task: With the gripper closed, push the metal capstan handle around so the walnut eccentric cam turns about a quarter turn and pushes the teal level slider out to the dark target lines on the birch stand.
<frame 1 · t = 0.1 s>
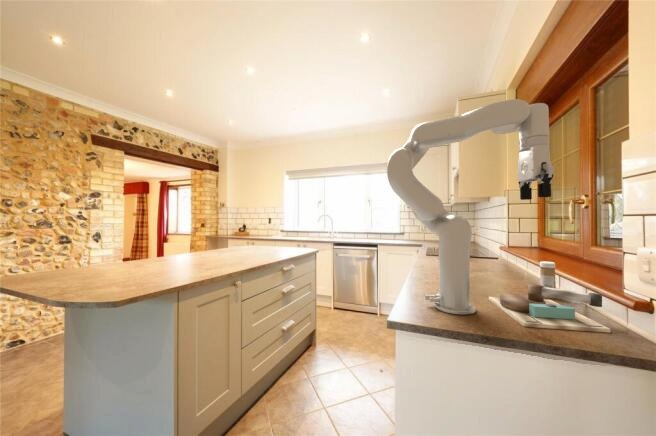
hand: (534, 198, 82), 37 cm above the counter, tool pointing down, fingers open, 9 cm apart
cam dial: (542, 297, 81), point 5 cm above the counter, hinge at 0.0°
sprinkles bottle: (548, 297, 98), on the counter
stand: (536, 311, 83), on the counter
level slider: (551, 310, 76), point 3 cm above the counter, slide at 0.0 cm
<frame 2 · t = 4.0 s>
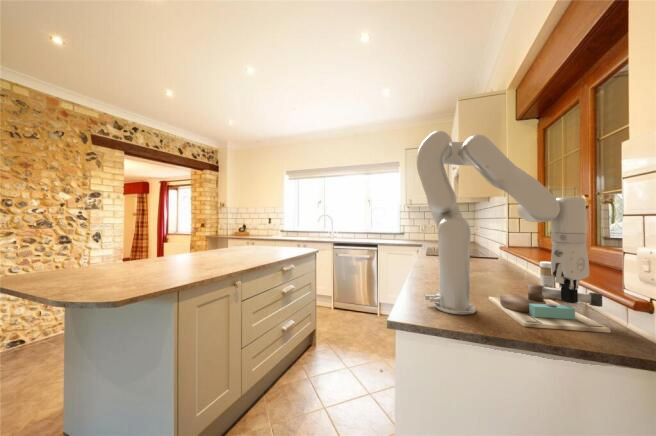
hand: (569, 301, 75), 6 cm above the counter, tool pointing down, fingers closed
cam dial: (542, 297, 81), point 5 cm above the counter, hinge at 2.6°, touching gripper
everything else where it was.
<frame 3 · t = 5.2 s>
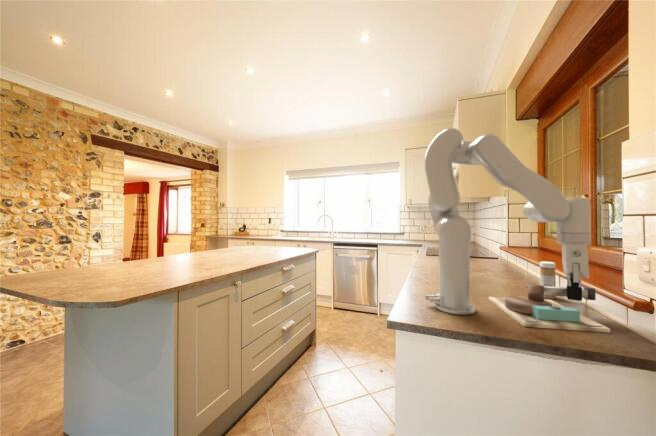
hand: (574, 299, 78), 6 cm above the counter, tool pointing down, fingers closed
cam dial: (544, 297, 82), point 5 cm above the counter, hinge at 32.2°, touching gripper
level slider: (555, 313, 74), point 3 cm above the counter, slide at 1.8 cm
everything else where it was.
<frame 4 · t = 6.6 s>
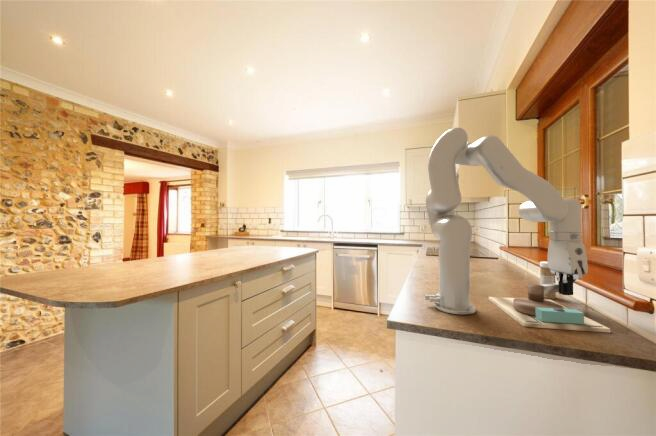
hand: (565, 294, 83), 6 cm above the counter, tool pointing down, fingers closed
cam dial: (543, 296, 83), point 5 cm above the counter, hinge at 67.4°, touching gripper
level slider: (558, 315, 72), point 3 cm above the counter, slide at 3.4 cm
everything else where it was.
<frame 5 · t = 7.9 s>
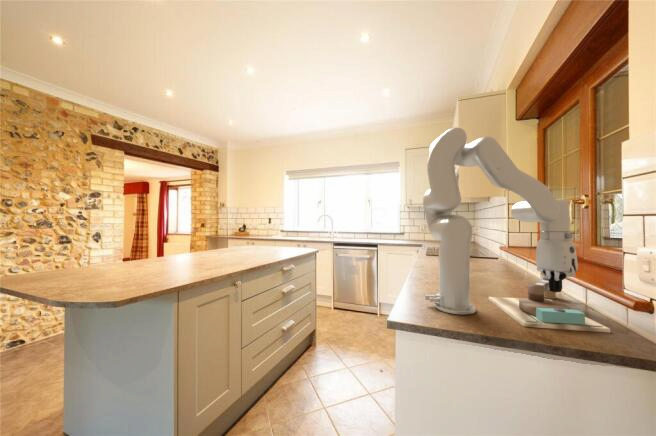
hand: (555, 291, 86), 6 cm above the counter, tool pointing down, fingers closed
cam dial: (541, 295, 84), point 5 cm above the counter, hinge at 89.2°, touching gripper
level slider: (559, 315, 72), point 3 cm above the counter, slide at 3.7 cm
everything else where it was.
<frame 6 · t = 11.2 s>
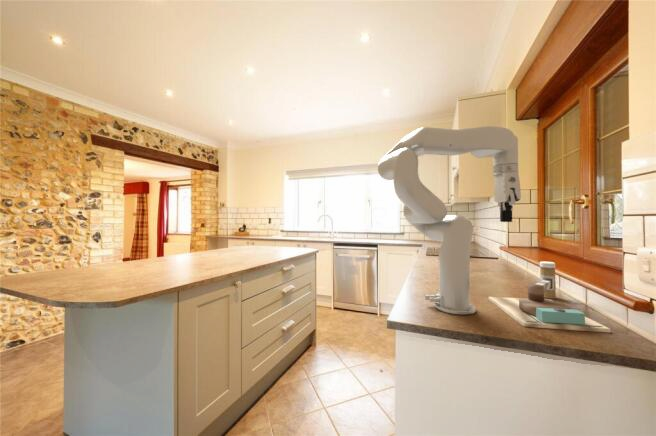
hand: (506, 221, 92), 29 cm above the counter, tool pointing down, fingers closed
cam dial: (541, 295, 84), point 5 cm above the counter, hinge at 89.2°
everything else where it was.
at the end: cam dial at +89° (first picture: +0°); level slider slide at 3.7 cm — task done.
